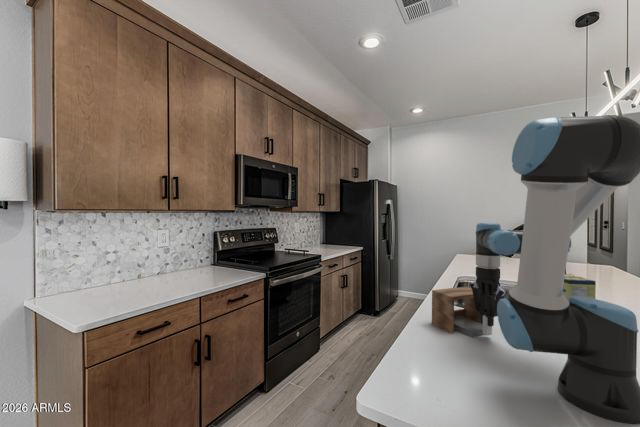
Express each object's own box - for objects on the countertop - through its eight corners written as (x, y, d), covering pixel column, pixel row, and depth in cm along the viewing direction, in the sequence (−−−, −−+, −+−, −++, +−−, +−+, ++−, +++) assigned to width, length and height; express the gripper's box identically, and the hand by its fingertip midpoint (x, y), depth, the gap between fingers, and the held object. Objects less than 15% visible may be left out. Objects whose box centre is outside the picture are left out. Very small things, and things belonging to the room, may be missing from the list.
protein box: (570, 306, 142) (571, 273, 142) (596, 317, 126) (596, 281, 126) (546, 304, 143) (547, 272, 143) (569, 315, 128) (569, 280, 128)
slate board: (491, 334, 108) (491, 327, 108) (471, 338, 104) (471, 331, 104) (460, 321, 121) (460, 315, 121) (441, 324, 117) (441, 318, 117)
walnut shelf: (487, 326, 114) (487, 292, 114) (451, 333, 107) (452, 297, 107) (465, 318, 123) (466, 286, 123) (431, 323, 116) (432, 290, 116)
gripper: (513, 269, 99) (512, 340, 99) (479, 263, 111) (478, 326, 111) (497, 270, 96) (497, 343, 96) (464, 264, 108) (463, 328, 108)
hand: (487, 334), depth 104 cm, fingers closed
